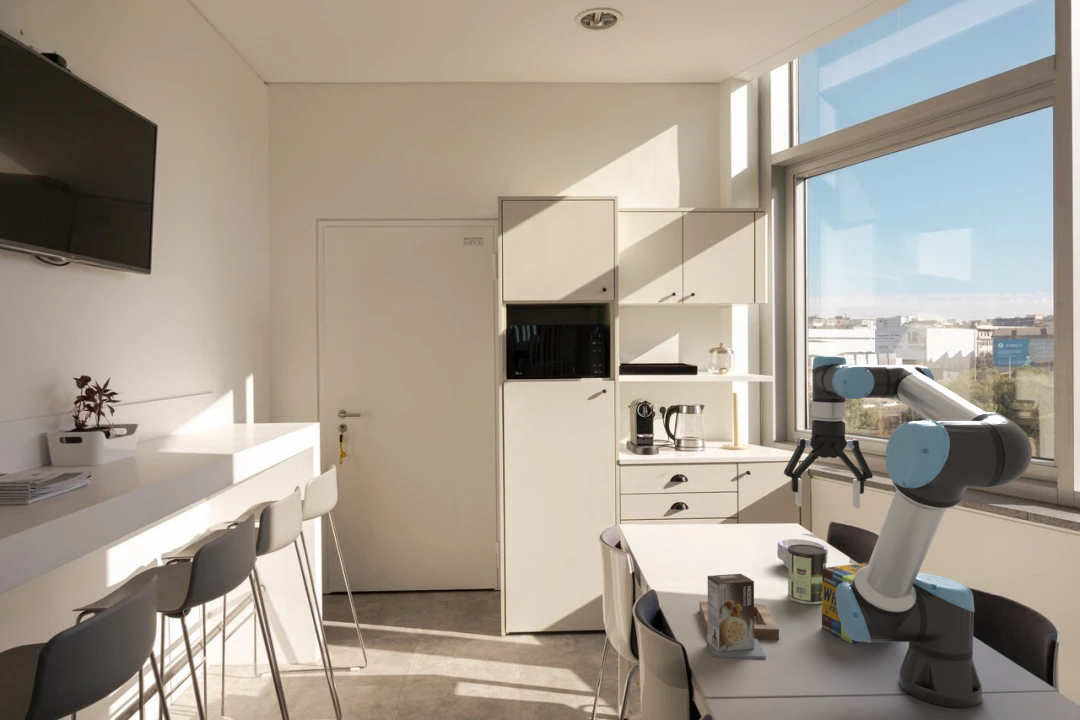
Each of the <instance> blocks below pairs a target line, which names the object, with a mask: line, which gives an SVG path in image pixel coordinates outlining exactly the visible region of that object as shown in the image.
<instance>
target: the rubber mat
mask: <svg viewBox="0 0 1080 720" xmlns="http://www.w3.org/2000/svg"><path fill="white" fill-rule="evenodd" d="M706 641H707V643H708V647H709V649H710V650H709V651H710V654H711V656H712V657H719V658H720V657H721V658H738V659H755V660H756V659H759V660H760V659H761V660H766V659H767V655H766V654H765V652H764V650H763V648H762V645H761V643H760V642H759V640H758V639H756V638H754V649H744V650H734V651H725V652H719V651H718V650H717V649H715V648H714V647H713V646H712V645H711V644H710V643H709V642H708V635H706Z"/></svg>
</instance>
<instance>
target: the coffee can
mask: <svg viewBox="0 0 1080 720" xmlns="http://www.w3.org/2000/svg"><path fill="white" fill-rule="evenodd" d="M826 552H827V551H826V550H825V549H823V548H821V547H818V546H813V545H805V544H797V545H791V546H789V547H788V568H787V572H788V573H787V574H788V575H787V597H788V599H789V600H792V601H793V602H796V603H799V604H805V605H820V604H821V605H822V575H823V568H827V563H826Z"/></svg>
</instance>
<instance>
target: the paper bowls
mask: <svg viewBox="0 0 1080 720" xmlns="http://www.w3.org/2000/svg"><path fill="white" fill-rule="evenodd" d="M797 544H805V545H813V546H818V547H821V548H823V549H825V550H826V551H827V552H826V564H828V558H829V557H828V552H829V549H828V547H827V545H825V544H823V543H821V542H818V541H814V540H811V539H805V538H783V539H780V540H778V541H777V558H778V559H779V560H781V561H783V564H784V566H785V567H786V568H787V569H788V547H789V546H791V545H797Z"/></svg>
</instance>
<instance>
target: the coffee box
mask: <svg viewBox="0 0 1080 720" xmlns="http://www.w3.org/2000/svg"><path fill="white" fill-rule="evenodd" d="M707 602H708V635H707V636H708V641H707V643H708V642H709V643H710V644H711V645H712V646H713V647H714V648H715V649H717V650H718V651H719V652H725V651H734V650H744V649H754V624H755V617H754V604H755V581H754V580H753V579H751V578H750V577H748V576H747V575H744V574H742V573H732V574H717V575H707Z"/></svg>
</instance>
